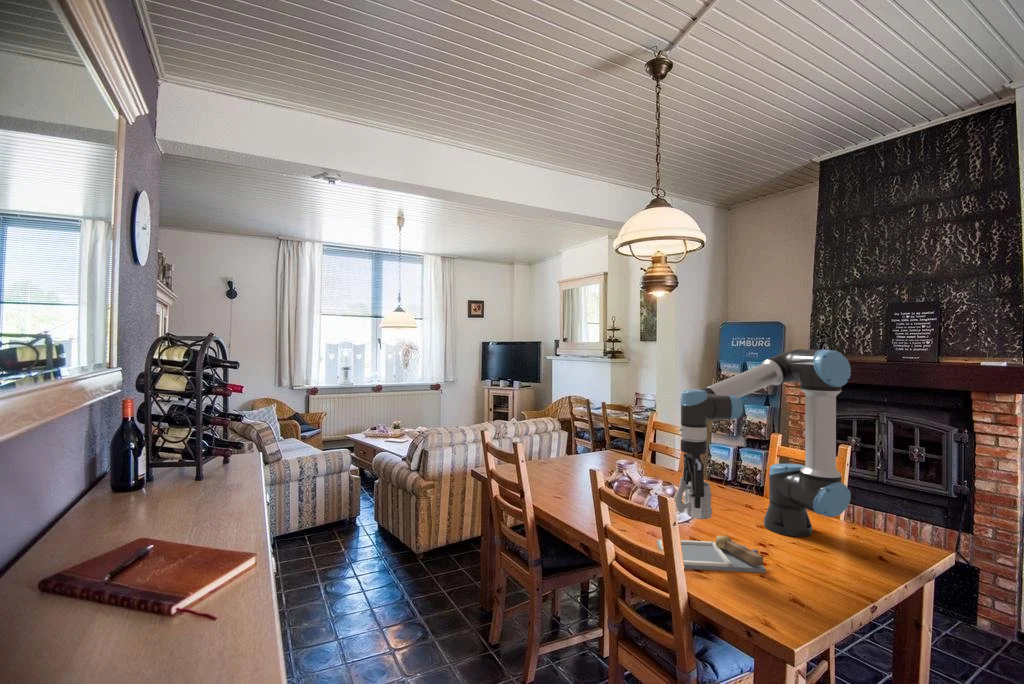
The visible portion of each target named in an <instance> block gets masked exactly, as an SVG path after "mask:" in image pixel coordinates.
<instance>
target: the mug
mask: <svg viewBox="0 0 1024 684" xmlns="http://www.w3.org/2000/svg"><path fill="white" fill-rule="evenodd" d="M685 489H688V491H687V495H688V502H686V503H685V502H683V497H682V496H683V494H685ZM698 493H699V492H698ZM690 495H693V490H692V481H690V482H689V483H688V485H686V482H685V480H684V479H683V476H680V477H679V484H678V489H677V491H676V494H675V496H674V500H675V506H676V509H677V511H678V513H680V514H682V513H684V512H685V510H686V515H687V516H688V517H691V516H692V497H691V496H690ZM712 514H713V509H712V491H711V484H710V483H708V482H706V481H704V497H702V510H701V518H696V519H697V520H705V519H706V520H708V519H711V518H712ZM691 518H692V517H691Z"/></svg>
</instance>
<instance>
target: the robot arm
mask: <svg viewBox="0 0 1024 684" xmlns="http://www.w3.org/2000/svg"><path fill="white" fill-rule="evenodd" d="M851 368H852V367H851V365H850V363H849V360H848V358H847V357H845V356H844V354H842V353H841V352H839V351H837V350H832V349H831V350H830V349H823V348H822V349H802V348H801V349H799V348H797V349H792V350H788V351H786V352H783V353H779V354H777V355H775V356H773V357H769V358H767V359H765V360H762V362H761V364H760V365H757V366H755V367H753V368H751V369H748V370H745V371H743V372H741V373H737V374H735V375H733V376H731V377H728V378H725V379H723V380H721V381H719V382H716V383H714V384H712V385H709V386H706V387H704V388H700V389H692V388H691V389H690V388H688V389H687V388H686V389H683V390H682V392H681V395H680V396H681V397H680V428H679V429H678V431H679V432H680V438H681V440H680V451H681V452H682V453H683V468H682V469H683V471H682V473H683V475H682V478H683V479H684V480H685V482H686V485H688V483H689V482H690V481H692V490H693V495H690V496H691V497H692V516H691V518H692V519H697V518H701V510H702V497H704V482H705V481H704V479H705V478H704V470H705V469H704V468H705V465H704V463H703V462H702V459H701V457H700V456H701V455H705V454H706V453H707V438H708V435H707V434H708V430H707V429H708V428H707V427H708V421H716V420H717V421H718V420H719V421H720V420H721V421H722V420H723V421H725V420H728V421H730V420H737V419H739V418H740V417H742V414H743V412H744V411H743V409H744V405H743V403H742V400H741V398H742V397H745V396H747V395H750V394H752V393H755V392H757V391H759V390H762V389H763V388H766V387H768V386H771V385H773V386H779V385H781V384H784V383H785V384H786V383H799V385H800V386H799V389H800V391H801V392H803V394H804V395H805V396H804V397H805V399H804V401H805V403H804V404H805V405H804V406H805V409H804V410H805V412H804V413H805V415H804V416H805V419H804V420H805V426H804V427H805V429H804V430H805V432H804V433H805V436H804V439H805V440H804V441H805V443H804V445H805V446H804V447H805V450H804V452H805V453H804V454H805V458H804V462H805V463H804V464H805V465H803V464H797V463H774V464H772V465H771V466H770V467H769V473H768V489H769V490H768V492H769V499H768V501H769V505H768V507H767V510H766V512H765V514H764V517H763V526H764V527H765V528H766V529H767V530H769V531H771V532H774V533H777V534H780V535H785V536H789V537H800V538H801V537H809V536H811V535H812V534H813V525H812V522H811V519H810V517H809V513H808V511H807V510H810V511H811V512H815V513H816V514H818V515H822V516H826V517H829V518H833V517H837V516H841V514H843V513H844V511H846V510H847V509H848V507H849V506H850V502H851V497H852V495H851V490H850V489H849V488H848V486H847V485H846V484H844V483H843V482H842V473H841V472H839V470H837V427H836V426H837V396H838V395H839V394H840V393H841V392H842V388H843V386H845V385H846V384H847V383H848V382H849V381H848V380H850V378H851V375H852V373H851V372H852V370H851ZM687 491H688V489H685V491H684V503H686V502H688V495H687ZM698 492H699V493H698Z"/></svg>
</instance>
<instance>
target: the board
mask: <svg viewBox="0 0 1024 684" xmlns="http://www.w3.org/2000/svg"><path fill="white" fill-rule="evenodd" d="M662 539H663V538H662ZM662 539H661V538H658V539H657V541H655V544H656V543H657V545H658V547H659V550H660V551H661V549H662V552H663V546H662ZM680 540H681V546H682V553H683V561H684V566H685V569H686V570H707V571H725V572H741V573H758V574H759V573H761V574H762V573H764V574H765V573H767V568H766V566H764V564H763V565H760V566H755V565H753V564H752V563H750V562H748V561H746V560H744V559H742V558H740V557H739V556H737V555H735V554H733V553H731V552H729V551H728V550H726V549H722V548H719V547H717V546H716V541H710V540H709V541H708V540H707V541H706V540H703V541H702V540H688V539H680ZM742 546H744V547H746V548H748V547H747V546H746V545H742ZM659 550H658V551H659ZM751 550H752V551H753V552H755V553H757V554H759V550H758V549H751Z"/></svg>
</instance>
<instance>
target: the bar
mask: <svg viewBox="0 0 1024 684" xmlns="http://www.w3.org/2000/svg"><path fill="white" fill-rule="evenodd" d="M715 543H716V546H717V547H719V548H722V549H726V550H728V551H729V552H731V553H733V554H735V555H737V556H739V557H740V558H742V559H744V560H746V561H748V562H750V563H752V564H753V565H755V566H760V565H763V566H764V556H763V555H761V554H759V553H758V554H757V553H755V552H753V551H752V549H749V548H748V547H747V546H746V547H747V548H746V547H744V546H745V545H743V546H742V545H741V544H740V543H737V542H735V541H734V540H732V538H730V537H729V536H726V535H716V537H715Z"/></svg>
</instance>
